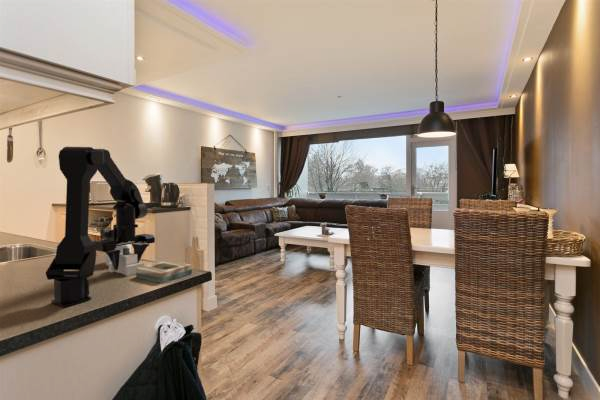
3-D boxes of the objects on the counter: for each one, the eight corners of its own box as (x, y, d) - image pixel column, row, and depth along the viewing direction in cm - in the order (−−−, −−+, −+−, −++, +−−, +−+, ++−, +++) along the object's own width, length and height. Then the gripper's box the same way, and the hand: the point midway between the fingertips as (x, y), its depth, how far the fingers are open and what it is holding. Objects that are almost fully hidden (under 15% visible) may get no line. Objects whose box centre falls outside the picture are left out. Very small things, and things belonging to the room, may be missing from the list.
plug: (126, 274, 107) (126, 250, 106) (115, 271, 110) (114, 248, 109) (137, 271, 110) (137, 248, 110) (126, 269, 113) (125, 246, 113)
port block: (162, 283, 98) (162, 273, 98) (136, 277, 104) (136, 268, 104) (191, 273, 109) (191, 264, 109) (166, 268, 115) (166, 260, 114)
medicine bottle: (131, 260, 126) (131, 229, 125) (127, 264, 119) (127, 232, 118) (110, 261, 124) (110, 229, 123) (105, 265, 117) (105, 232, 116)
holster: (127, 275, 105) (127, 266, 105) (108, 271, 110) (108, 262, 109) (143, 271, 110) (143, 262, 110) (125, 267, 115) (125, 259, 115)
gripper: (135, 217, 121) (135, 258, 122) (82, 222, 105) (83, 270, 105) (155, 219, 116) (156, 262, 117) (103, 225, 99) (104, 275, 100)
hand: (126, 267), depth 110 cm, fingers open, 7 cm apart
